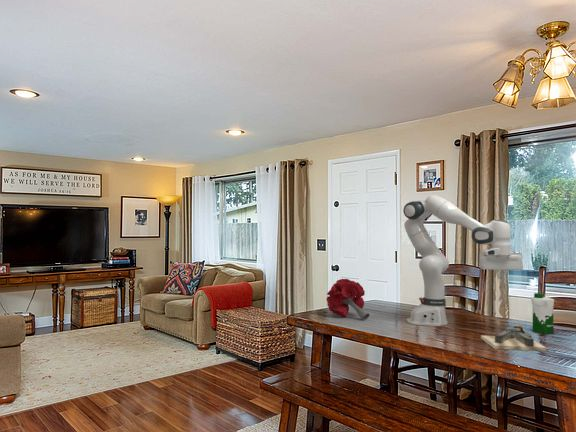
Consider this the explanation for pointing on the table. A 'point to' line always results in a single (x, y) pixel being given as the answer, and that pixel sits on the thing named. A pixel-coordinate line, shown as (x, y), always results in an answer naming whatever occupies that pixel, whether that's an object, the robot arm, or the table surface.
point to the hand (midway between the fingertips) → (501, 278)
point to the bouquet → (346, 298)
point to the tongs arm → (502, 336)
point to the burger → (521, 330)
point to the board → (512, 344)
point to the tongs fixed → (521, 336)
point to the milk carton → (542, 314)
